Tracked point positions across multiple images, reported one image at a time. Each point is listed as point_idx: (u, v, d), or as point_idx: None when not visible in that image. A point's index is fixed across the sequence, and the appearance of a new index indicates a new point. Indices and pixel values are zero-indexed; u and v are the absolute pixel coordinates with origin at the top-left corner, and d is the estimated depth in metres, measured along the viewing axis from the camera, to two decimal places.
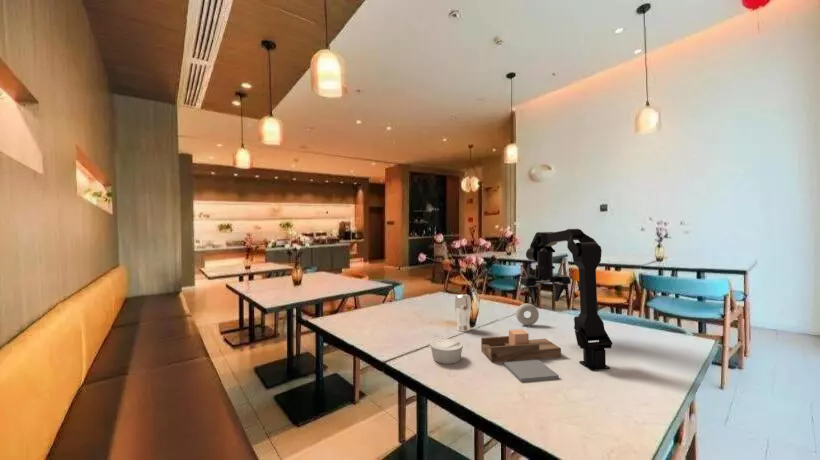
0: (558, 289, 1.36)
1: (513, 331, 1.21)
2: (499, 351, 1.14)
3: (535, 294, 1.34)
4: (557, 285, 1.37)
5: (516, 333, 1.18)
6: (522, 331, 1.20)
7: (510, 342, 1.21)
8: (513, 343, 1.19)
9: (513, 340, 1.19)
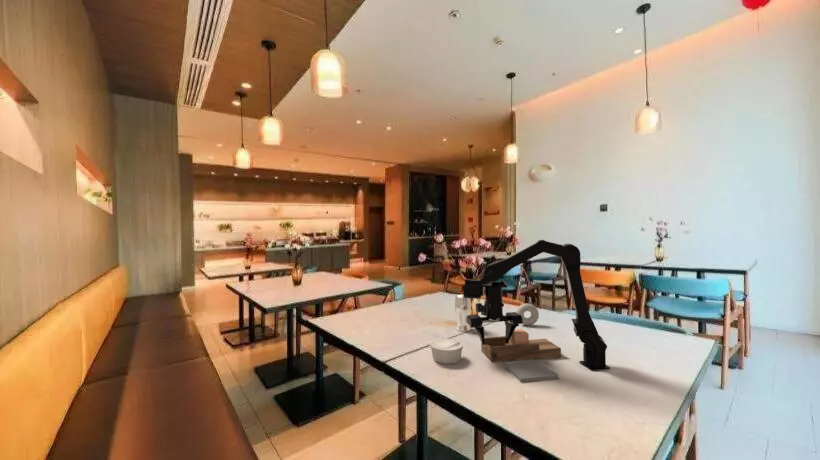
0: (508, 329, 1.18)
1: None
2: (499, 351, 1.14)
3: (482, 336, 1.16)
4: (507, 324, 1.20)
5: (516, 333, 1.18)
6: (522, 331, 1.20)
7: (510, 342, 1.21)
8: (513, 343, 1.19)
9: (513, 340, 1.19)
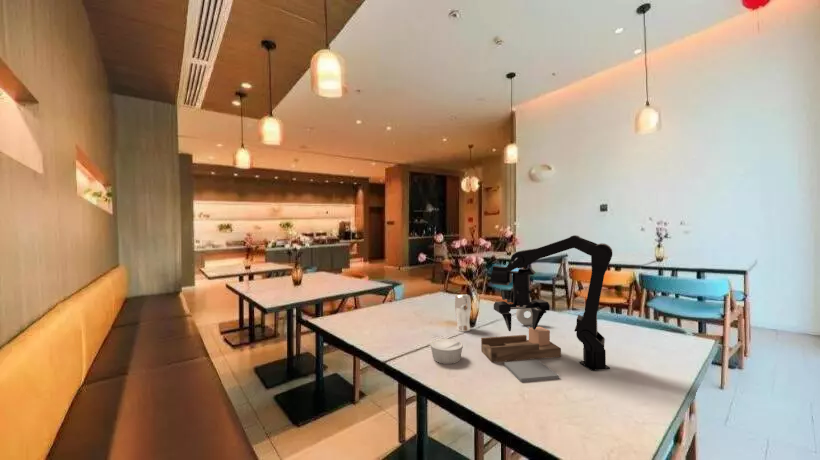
0: (536, 316, 1.20)
1: None
2: (499, 351, 1.14)
3: (509, 322, 1.18)
4: (534, 311, 1.21)
5: (539, 330, 1.20)
6: (542, 328, 1.23)
7: (530, 340, 1.23)
8: (536, 340, 1.20)
9: (536, 337, 1.20)
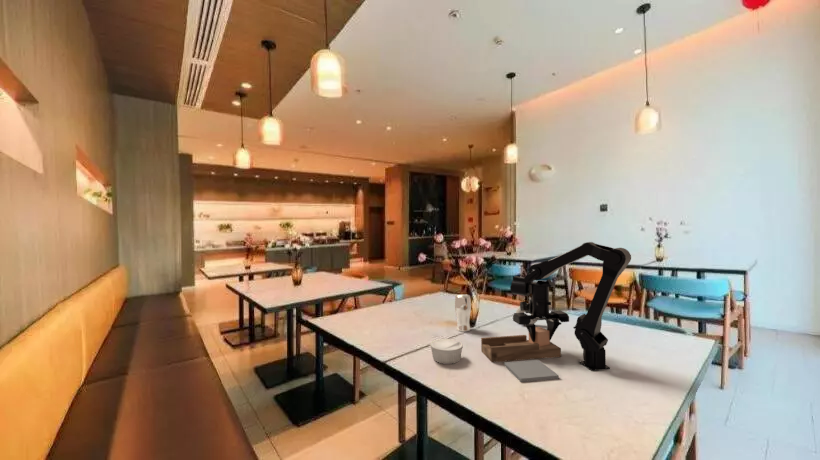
0: (551, 327, 1.21)
1: None
2: (499, 351, 1.14)
3: (533, 333, 1.19)
4: (549, 323, 1.22)
5: (538, 331, 1.20)
6: (542, 328, 1.23)
7: (530, 340, 1.23)
8: (536, 341, 1.20)
9: (536, 338, 1.20)
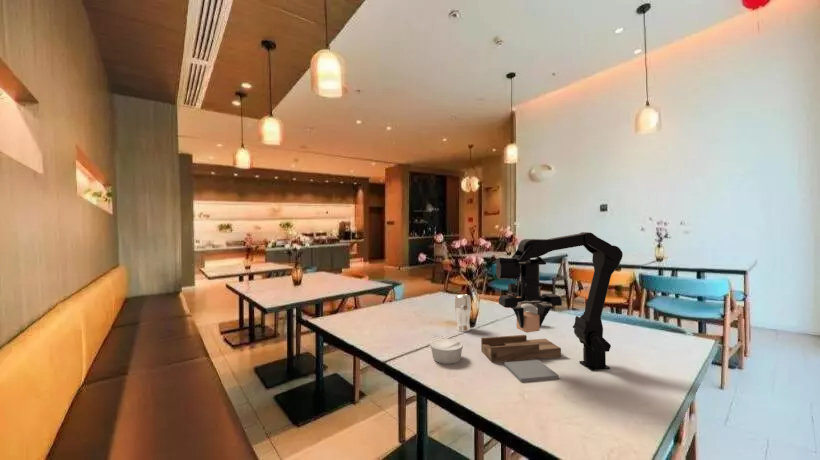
0: (541, 312, 1.07)
1: None
2: (499, 351, 1.14)
3: (521, 318, 1.06)
4: (540, 307, 1.09)
5: (527, 315, 1.07)
6: (531, 313, 1.10)
7: (518, 326, 1.10)
8: (524, 326, 1.07)
9: (524, 323, 1.07)
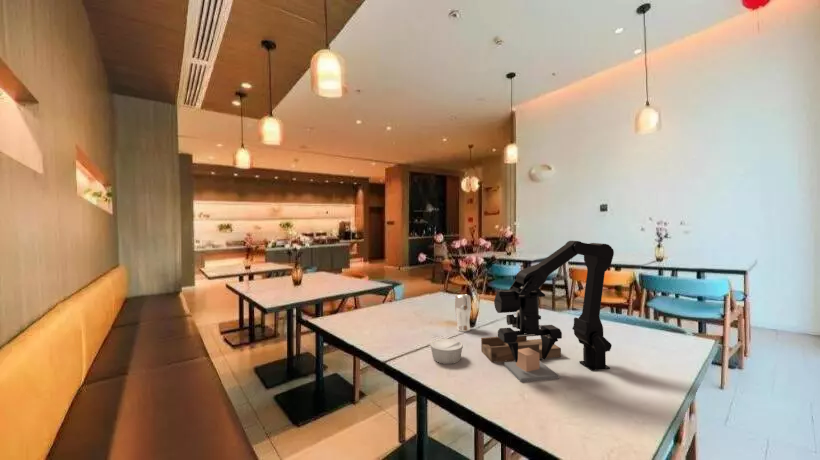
0: (546, 345, 1.05)
1: (522, 351, 1.07)
2: (499, 351, 1.14)
3: (516, 352, 1.03)
4: (544, 339, 1.07)
5: (526, 353, 1.05)
6: (531, 350, 1.07)
7: (518, 364, 1.07)
8: (523, 365, 1.05)
9: (523, 362, 1.05)
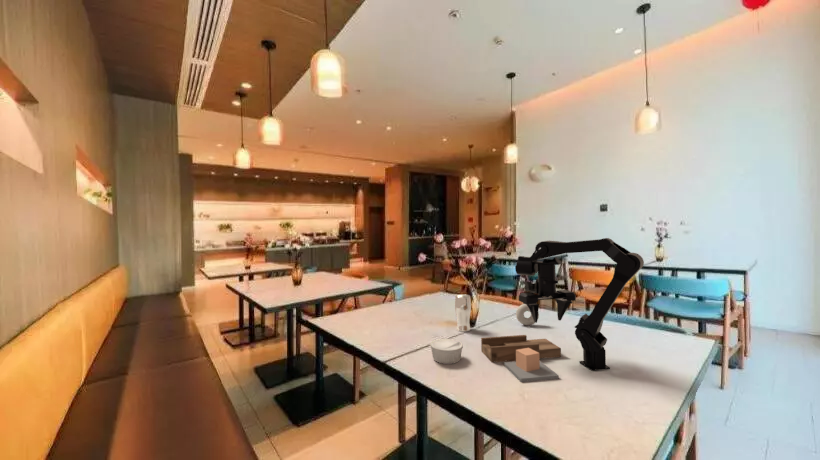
0: (561, 306, 1.18)
1: (522, 351, 1.07)
2: (499, 351, 1.14)
3: (536, 313, 1.16)
4: (560, 302, 1.19)
5: (526, 353, 1.05)
6: (531, 350, 1.07)
7: (518, 364, 1.07)
8: (523, 365, 1.05)
9: (523, 362, 1.05)
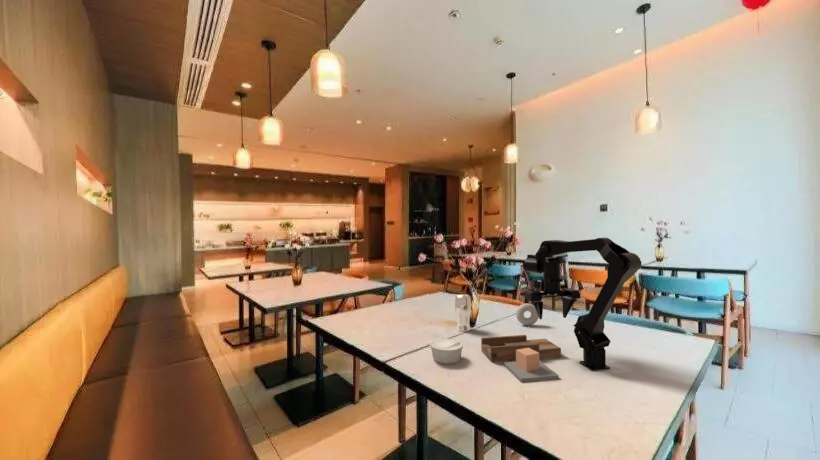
0: (566, 304, 1.21)
1: (522, 351, 1.07)
2: (499, 351, 1.14)
3: (541, 310, 1.19)
4: (565, 300, 1.22)
5: (526, 353, 1.05)
6: (531, 350, 1.07)
7: (518, 364, 1.07)
8: (523, 365, 1.05)
9: (523, 362, 1.05)
